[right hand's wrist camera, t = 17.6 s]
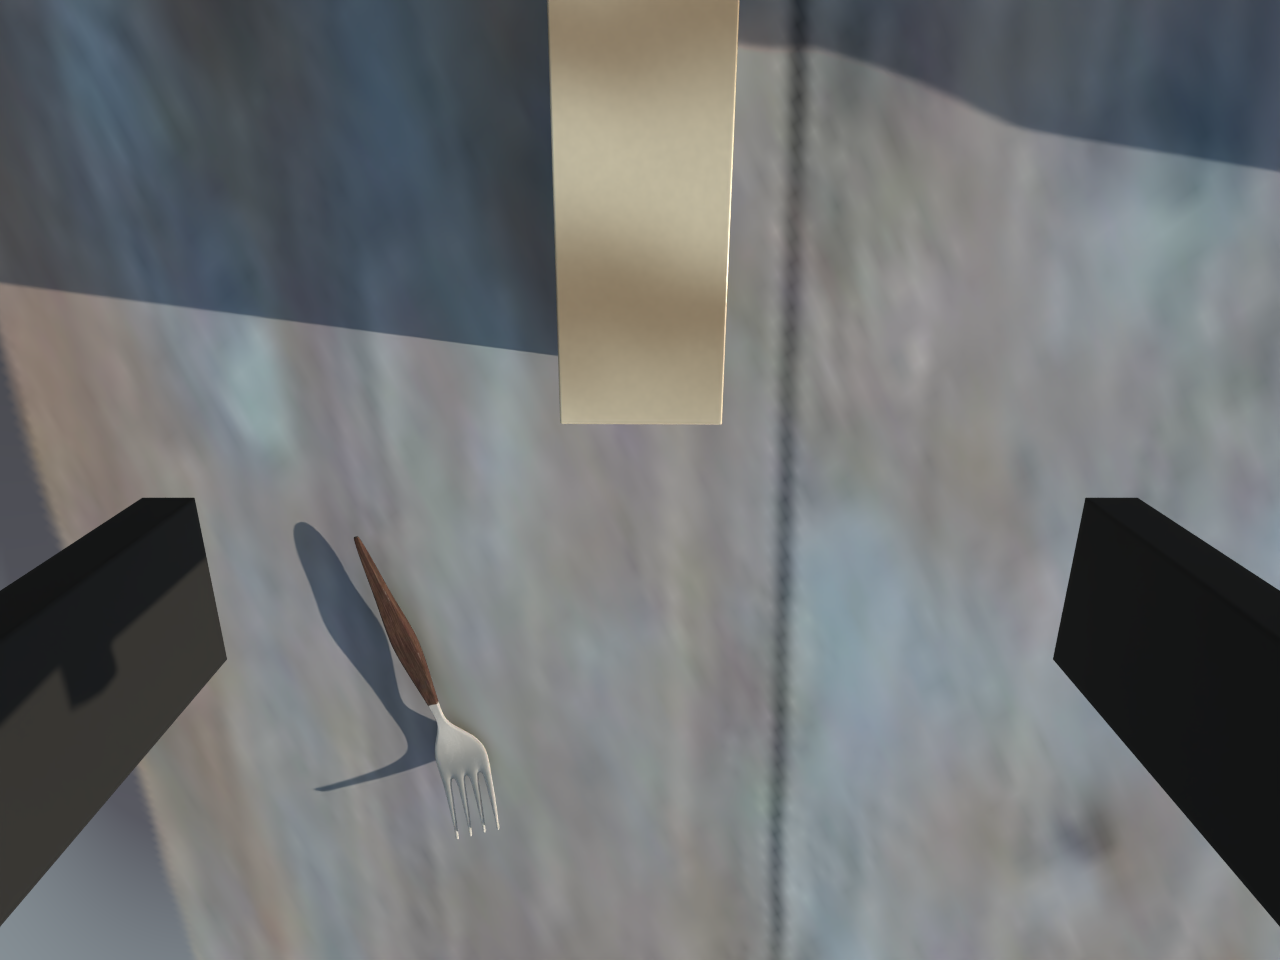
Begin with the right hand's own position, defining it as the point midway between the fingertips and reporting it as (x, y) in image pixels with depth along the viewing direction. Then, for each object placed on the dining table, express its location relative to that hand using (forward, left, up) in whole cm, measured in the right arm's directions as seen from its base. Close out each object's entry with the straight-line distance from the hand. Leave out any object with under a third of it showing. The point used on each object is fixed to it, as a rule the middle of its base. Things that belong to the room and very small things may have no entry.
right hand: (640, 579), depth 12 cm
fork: (-17, -10, -22) cm, 30 cm away
